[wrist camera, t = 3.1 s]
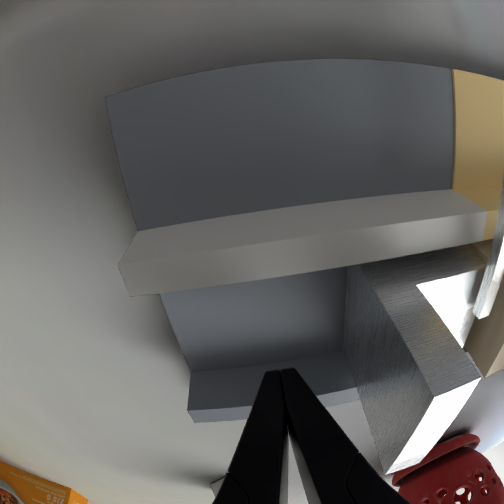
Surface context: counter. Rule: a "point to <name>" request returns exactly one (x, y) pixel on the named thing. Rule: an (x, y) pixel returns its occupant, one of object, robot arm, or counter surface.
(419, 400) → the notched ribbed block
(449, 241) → the bench
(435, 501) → the plant pot
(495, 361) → the block
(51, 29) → the counter surface
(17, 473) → the cereal box
